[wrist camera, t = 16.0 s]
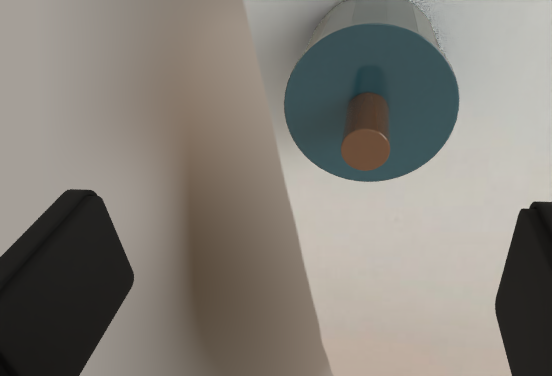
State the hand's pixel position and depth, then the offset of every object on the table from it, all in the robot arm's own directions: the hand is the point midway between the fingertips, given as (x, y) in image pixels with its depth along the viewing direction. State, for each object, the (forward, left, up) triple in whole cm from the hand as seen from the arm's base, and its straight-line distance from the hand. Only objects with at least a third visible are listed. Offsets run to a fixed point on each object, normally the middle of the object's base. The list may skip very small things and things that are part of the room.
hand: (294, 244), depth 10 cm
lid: (+1, -4, -17) cm, 17 cm away
